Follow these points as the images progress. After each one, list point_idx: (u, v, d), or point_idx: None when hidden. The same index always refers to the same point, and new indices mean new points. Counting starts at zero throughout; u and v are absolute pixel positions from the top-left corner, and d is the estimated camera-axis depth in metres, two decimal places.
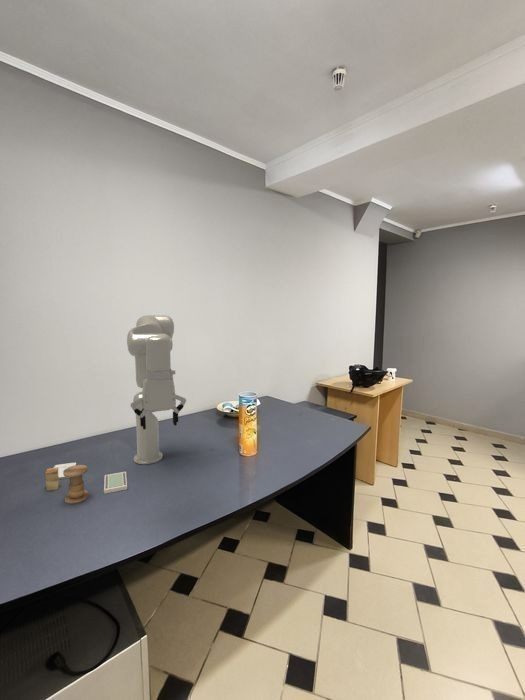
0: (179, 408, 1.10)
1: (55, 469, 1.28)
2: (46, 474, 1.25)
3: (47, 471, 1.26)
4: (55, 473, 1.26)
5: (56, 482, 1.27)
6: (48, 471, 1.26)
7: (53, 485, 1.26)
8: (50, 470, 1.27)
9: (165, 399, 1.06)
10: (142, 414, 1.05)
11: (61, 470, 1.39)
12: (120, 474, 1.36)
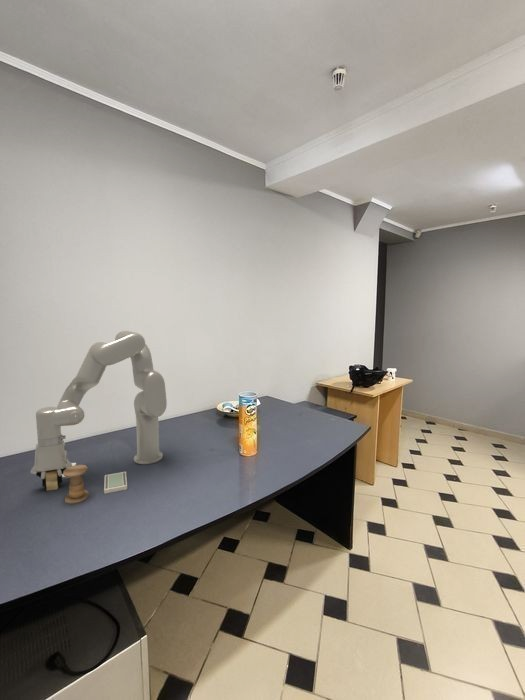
0: (62, 471, 1.28)
1: None
2: (46, 474, 1.25)
3: (47, 471, 1.26)
4: (55, 473, 1.26)
5: (56, 482, 1.27)
6: (48, 471, 1.26)
7: (53, 485, 1.26)
8: (50, 470, 1.27)
9: (55, 461, 1.25)
10: (43, 476, 1.25)
11: None
12: (120, 474, 1.36)
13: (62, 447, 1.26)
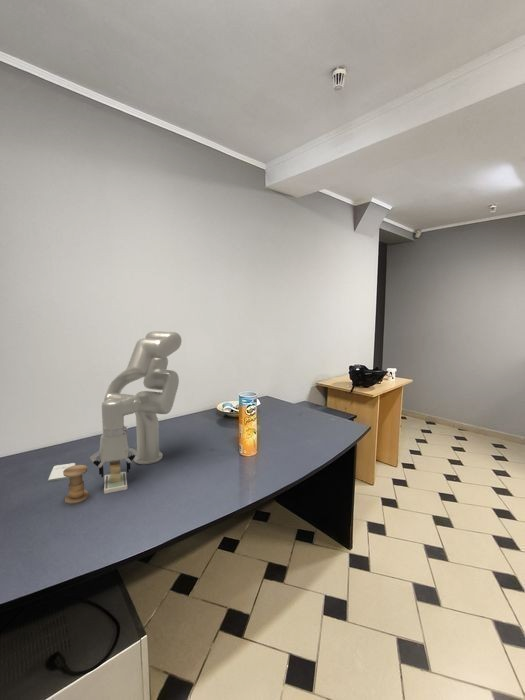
0: (131, 458, 1.32)
1: (118, 462, 1.31)
2: (110, 466, 1.28)
3: (111, 464, 1.29)
4: (118, 466, 1.29)
5: (119, 474, 1.30)
6: (112, 464, 1.29)
7: (116, 477, 1.30)
8: (114, 463, 1.30)
9: (119, 451, 1.28)
10: (100, 465, 1.27)
11: (61, 471, 1.38)
12: None
13: (125, 438, 1.29)
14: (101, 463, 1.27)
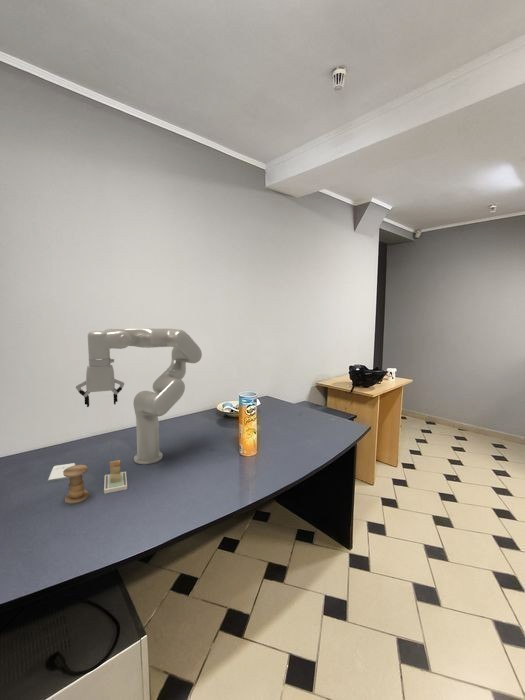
0: (118, 390, 1.34)
1: (118, 462, 1.31)
2: (110, 466, 1.28)
3: (111, 464, 1.29)
4: (118, 466, 1.29)
5: (119, 474, 1.30)
6: (112, 464, 1.29)
7: (116, 477, 1.30)
8: (114, 463, 1.30)
9: (105, 382, 1.31)
10: (85, 394, 1.29)
11: (61, 471, 1.38)
12: None
13: (111, 369, 1.31)
14: (86, 393, 1.29)
